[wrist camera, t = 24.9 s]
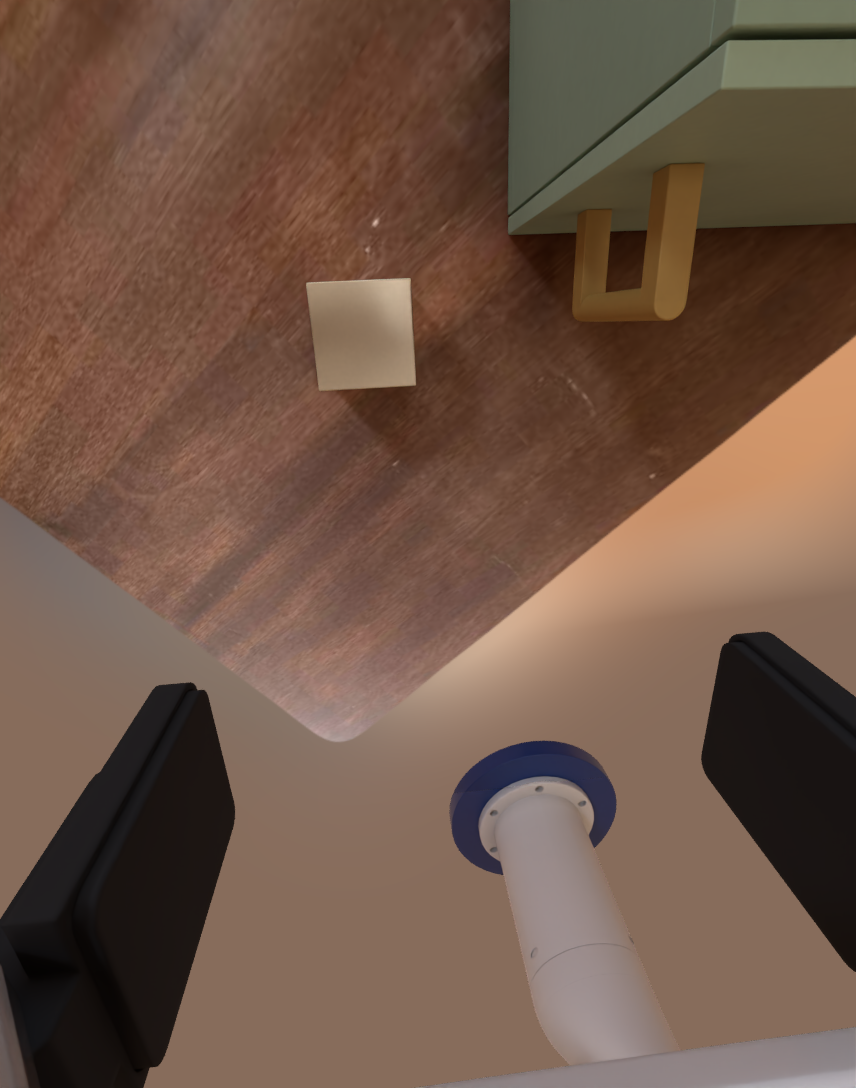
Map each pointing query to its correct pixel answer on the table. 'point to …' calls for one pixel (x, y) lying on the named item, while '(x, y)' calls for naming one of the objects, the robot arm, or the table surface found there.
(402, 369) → the block
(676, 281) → the cupboard door
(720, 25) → the cupboard
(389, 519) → the table surface
